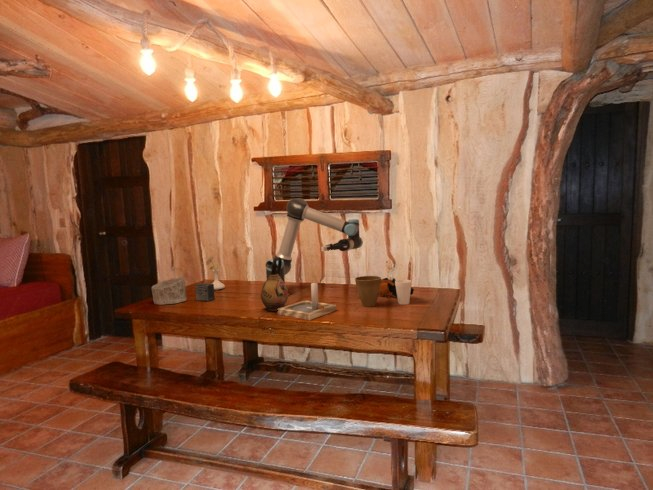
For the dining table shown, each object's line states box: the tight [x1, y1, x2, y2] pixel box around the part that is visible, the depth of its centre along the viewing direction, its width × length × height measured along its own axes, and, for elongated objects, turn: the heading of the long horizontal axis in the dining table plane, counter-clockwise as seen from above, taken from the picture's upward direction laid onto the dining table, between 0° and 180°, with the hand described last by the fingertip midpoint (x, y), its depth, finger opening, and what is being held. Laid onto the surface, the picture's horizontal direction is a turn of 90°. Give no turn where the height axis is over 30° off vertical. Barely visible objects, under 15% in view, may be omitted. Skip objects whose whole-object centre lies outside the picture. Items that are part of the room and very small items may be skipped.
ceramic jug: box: [260, 256, 289, 312], centre depth 256 cm, size 17×15×30 cm
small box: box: [194, 282, 215, 302], centre depth 285 cm, size 11×6×10 cm, turn 65°
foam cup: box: [395, 279, 413, 305], centre depth 258 cm, size 10×9×13 cm
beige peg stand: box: [293, 282, 319, 313], centre depth 246 cm, size 16×16×16 cm
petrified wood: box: [150, 277, 187, 306], centre depth 283 cm, size 19×17×15 cm
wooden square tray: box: [277, 299, 337, 321], centre depth 246 cm, size 23×23×5 cm
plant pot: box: [354, 275, 382, 308], centre depth 256 cm, size 15×15×16 cm
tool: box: [378, 277, 415, 299], centre depth 273 cm, size 8×23×15 cm, turn 51°
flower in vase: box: [205, 255, 226, 291], centre depth 317 cm, size 13×11×25 cm
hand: (322, 249), depth 267 cm, fingers closed
